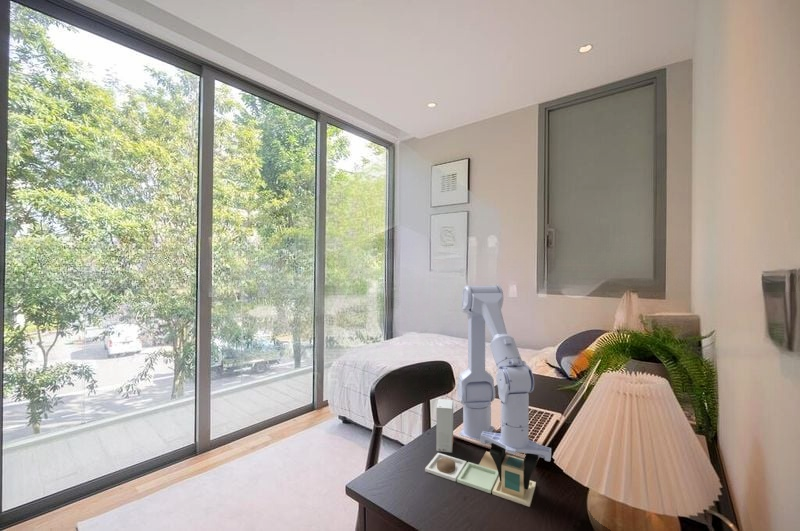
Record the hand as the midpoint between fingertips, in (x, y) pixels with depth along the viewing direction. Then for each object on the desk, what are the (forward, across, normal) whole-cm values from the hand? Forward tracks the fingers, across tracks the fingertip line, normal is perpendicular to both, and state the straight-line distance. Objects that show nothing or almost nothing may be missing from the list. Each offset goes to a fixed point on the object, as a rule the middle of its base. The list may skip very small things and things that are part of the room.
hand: (514, 482), depth 75 cm
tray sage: (+2, -8, 0) cm, 8 cm away
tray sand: (+2, 0, 0) cm, 2 cm away
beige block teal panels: (+2, 0, 0) cm, 2 cm away
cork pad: (+2, -6, +8) cm, 10 cm away
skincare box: (+2, -20, +9) cm, 22 cm away
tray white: (+2, -16, 0) cm, 16 cm away
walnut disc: (+2, -16, 0) cm, 16 cm away
